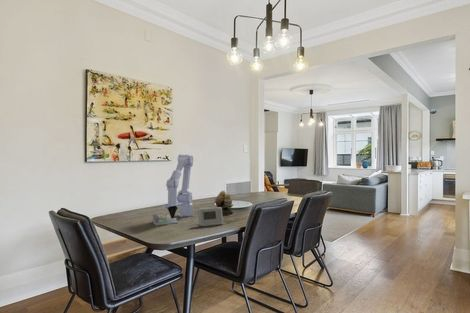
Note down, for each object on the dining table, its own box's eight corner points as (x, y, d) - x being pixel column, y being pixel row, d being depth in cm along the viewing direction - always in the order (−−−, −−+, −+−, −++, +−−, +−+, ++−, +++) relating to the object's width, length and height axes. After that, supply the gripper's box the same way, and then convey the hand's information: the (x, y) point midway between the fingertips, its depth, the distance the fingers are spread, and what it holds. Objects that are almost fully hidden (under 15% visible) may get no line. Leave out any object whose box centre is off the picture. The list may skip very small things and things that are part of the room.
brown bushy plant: (237, 213, 218) (237, 190, 218) (226, 216, 210) (226, 192, 209) (220, 209, 230) (220, 188, 230) (209, 212, 222) (210, 190, 221)
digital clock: (198, 227, 178) (198, 210, 177) (197, 223, 186) (197, 207, 186) (224, 226, 181) (224, 209, 181) (221, 222, 190) (222, 206, 190)
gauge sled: (169, 218, 192) (169, 212, 192) (170, 220, 188) (170, 214, 188) (161, 219, 190) (161, 213, 190) (162, 221, 186) (162, 214, 186)
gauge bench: (173, 219, 197) (173, 212, 197) (177, 223, 187) (177, 215, 187) (152, 221, 191) (152, 213, 191) (155, 225, 181) (155, 217, 181)
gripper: (178, 195, 199) (178, 215, 199) (159, 197, 188) (159, 218, 189) (184, 196, 194) (184, 216, 194) (165, 199, 183) (165, 220, 184)
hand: (172, 217), depth 191 cm, fingers closed
